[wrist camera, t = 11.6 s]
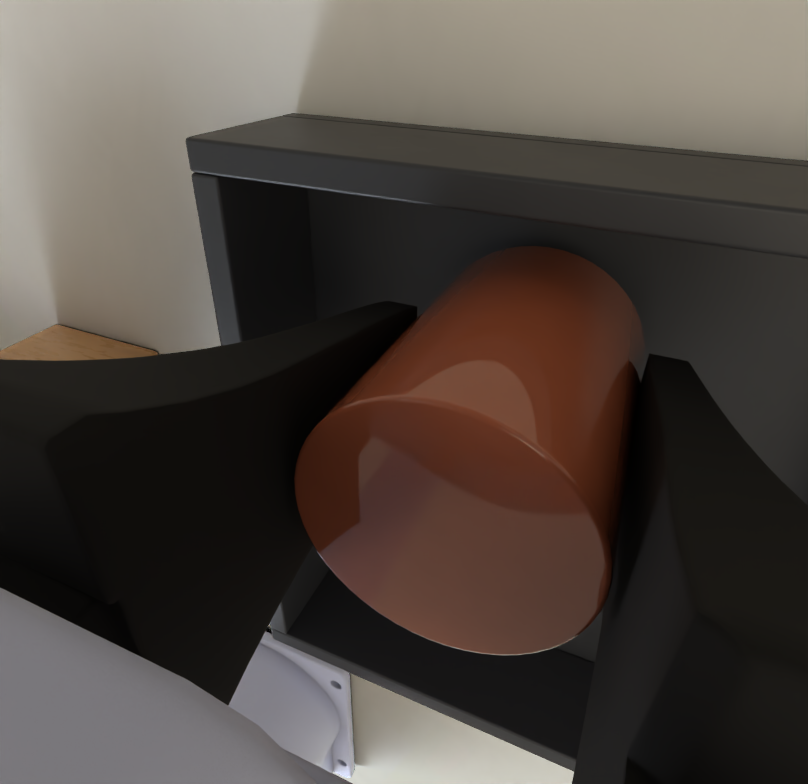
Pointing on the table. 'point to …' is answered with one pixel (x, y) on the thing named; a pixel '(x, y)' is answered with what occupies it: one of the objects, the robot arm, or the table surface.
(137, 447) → the robot arm
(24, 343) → the block
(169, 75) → the table surface
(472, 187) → the tray
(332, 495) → the canister
